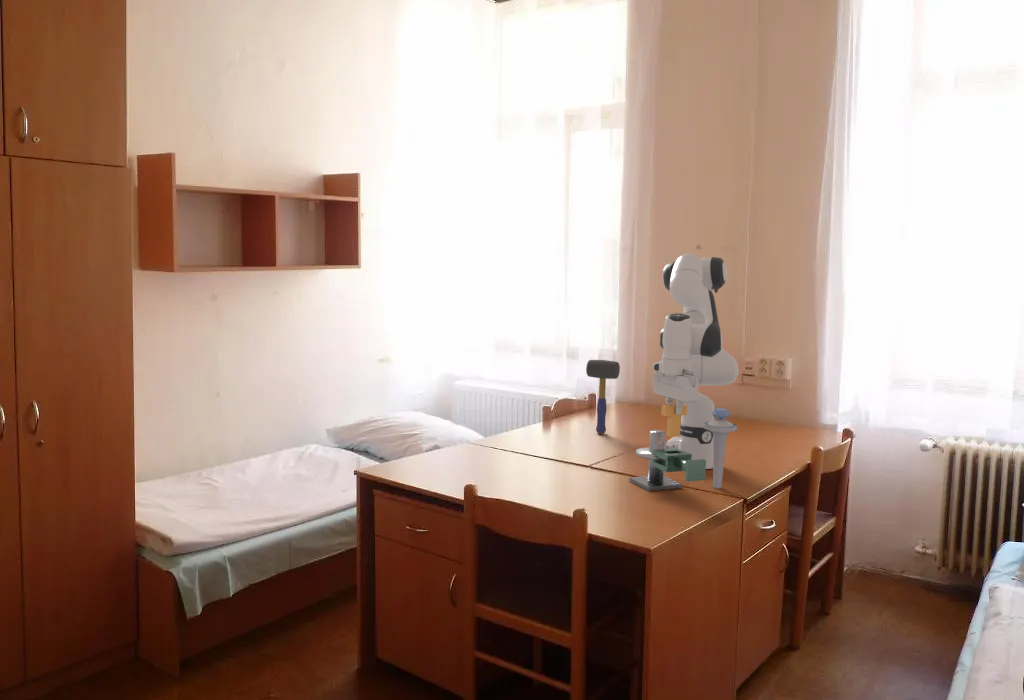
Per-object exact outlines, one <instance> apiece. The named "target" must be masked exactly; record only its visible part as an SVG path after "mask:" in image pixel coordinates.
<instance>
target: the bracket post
mask: <svg viewBox="0 0 1024 700" xmlns="http://www.w3.org/2000/svg"><path fill="white" fill-rule="evenodd" d="M648 445H649V446H648V447H640V448H637V449H636V450H635V455H636V456H637V457H638V458H642V459H646V460H648V465H647V466H648V467H647V468H648V471H647V474H648V475H644V476H643V475H642V476H631V477H629V480H628V481H629V482H630V481H631V482H630V483H632V484H634V485H636V486H637V487H640V488H642V489H644V490H646V491H647V490H648V492H653V491H652V490H656V491H662V490H661V489H666V490H673V489H674V488H676V489H682V488H683V484H682V483H681V482H678V481H676V480H675V479H672V478H670V477H668V476H665V475H664V472H665V473H676V472H677V473H678V472H685V476H684V477H685V481H686V482H699V481H705V480H706V470H707V469H706V460H705V459H698V460H691V458H692V454H690V453H687V452H685V451H682V450H680V449H677V448H671V449H666V431H664V430H659V429H653V430H650V431H649V442H648Z"/></svg>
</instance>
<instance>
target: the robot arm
mask: <svg viewBox="0 0 1024 700" xmlns="http://www.w3.org/2000/svg"><path fill="white" fill-rule="evenodd" d="M675 260H676V261H671V262H669V263H667V264H666V265H665V266H664V268H663V269H662V270H663V271H662V276H661V277H662V283H663V285H664V287H665V289H666V290H667V291H669V295H670V296H671V298H672V299H673V301H675V302H676V303H677V305H680V306H682V307H683V313H678V312H676V313H670V314H667V315H666V316H665V320H664V325H663V328H662V329H661V330H660V336H659V337H660V338H659V339H660V341H659V342H660V343H659V346H660V347H661V349H662V350H663V351H662V355H661V360H660V361H657V362H656V363H653V364H652V371H653V374H652V391H653V392H654V394H656V395H659V396H663V397H665V398H664V399H665V403H666V404H665V405H674V400H675V403H676V404H677V406H676V408H674V413H675V414H677V415H680V414H682V408H683V406H684V404H685V405H687V415H681V424H680V437H670V439H668V440H667V441H666V442H665V448H666V449H671V448H677V449H680V450H682V451H685V452H687V453H690V454H692V458H691V460H698V459H705V460H706V470H708V469H709V470H710V469H713V432H711V431H710V430H707V429H705V428H704V423H705V422H709V421H713V420H715V418H714V416H713V415H712V412H713V411H714V410H715V409H716V408H715V403H714V401H713V400H712V399H710V397H708V396H707V395H705V394H702V393H701V392H699V386H713V387H714V386H716V387H717V386H718V387H720V386H725V385H732V384H733V383H734V382H735V381H736V380H737V379H738V375H739V365H738V362H737V360H736V359H735V358H734V356H732V355H731V354H729V353H728V352H727V351H726V350H725V349H724V347H723V342H724V339H723V334H722V331H721V328H720V327H721V326H720V323H719V317H718V311H717V305H716V300H715V295H714V293H715V294H717V293H718V292H719V290H720V289H721V288H722V287H723V286H724V285H725V284H726V281H727V278H728V268H727V265H726V263H725V261H724V259H722V258H721V257H717V256H712V257H699V256H698V255H696V254H693V253H684V254H682V255H680V256H679V257H677V259H675ZM713 291H714V293H713Z"/></svg>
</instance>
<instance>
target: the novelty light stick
mask: <svg viewBox="0 0 1024 700" xmlns="http://www.w3.org/2000/svg"><path fill="white" fill-rule="evenodd" d="M712 415H713V416H714V420H713V421H709V422H705V423H704V428H705V429H707V430H710V431H711V432H713V468H712V475H713V476H712V477H713V479H712V487H713V488H714V489H722V487H723V485H722V484H723V476H724V466H725V465H724V464H725V457H726V447H727V446H726V445H727V439H728V438H727V437H728V435H729V433H731V432H736V431H737V430H738V424H736V423H733V422H729V421H728V418H729V417H730V416H731V413H730V411H728V409H726V408H724V407H723V408H722V407H717V408H714V411H713V412H712Z"/></svg>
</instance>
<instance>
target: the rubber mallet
mask: <svg viewBox="0 0 1024 700" xmlns="http://www.w3.org/2000/svg"><path fill="white" fill-rule="evenodd" d="M586 363H587V364H586V369H585V370H586V371H585V372H586V375H587V377H589V378H596V379H599V385H598V386H599V388H598V398H597V403H596V415H597V416H596V417H597V418H596V427H595V428H596V429H595V431H596V432H597V434H598V435H605V433H606V432H607V427H606V416H607V399H606V390H607V389H606V388H607V387H606V385H607V381H606V380H615V379H618V378H619V375H620V371H621V370H620V369H621V367H620V363H619V362H618V361H613V360H607V359H606V360H605V359H589V360H588V361H587V362H586Z"/></svg>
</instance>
